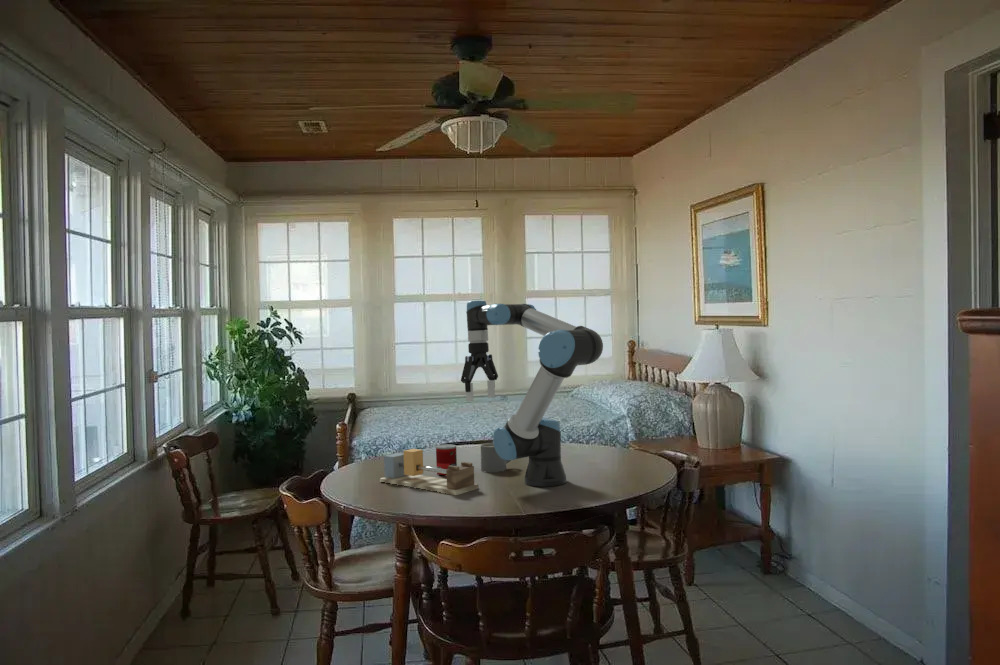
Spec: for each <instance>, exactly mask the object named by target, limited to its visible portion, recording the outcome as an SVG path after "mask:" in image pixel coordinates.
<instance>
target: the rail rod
mask: <svg viewBox="0 0 1000 665" xmlns="http://www.w3.org/2000/svg"><path fill="white" fill-rule="evenodd" d="M399 467H403V468H404V463H399ZM416 469H417V470H423V472H424V471H425V472H432V473H436V474H437V473H444V474H447V472H446V470H448V469H441V468H437V467H435V466H434V467H433V466H432V467H431V466H425V465H423V466H420V465H416Z"/></svg>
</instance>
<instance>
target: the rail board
mask: <svg viewBox="0 0 1000 665" xmlns="http://www.w3.org/2000/svg"><path fill="white" fill-rule="evenodd" d="M446 472H447V476H446V478H440V477H434V476H428V475H423V474H420V475H416V476H410V475H406V476H402V477H398V478H394V479H393V478H387V477H385V476H384V477H380V478H379V483H381V482H385V483H384V484H386V483H391V484H390V485H392V484H397V485H396V486H398V485H404V486H410V487H416V488H421V489H426V490H425V491H427V490H432V491H431V492H433V491H437V492H436V493H439V492H441V494H445V493H446V495H451V496H458V495H462V494H465V493H468V492H471V491H475V490H477V489H478V490H479V484H478V483H475V466H474V465H473V462H468V461H467V462H466V461H462V462H461V464H460V466H458V465H457V466H452V465H450V466H448V470H446ZM404 486H403V487H404ZM410 487H409V488H410ZM416 488H415V489H416ZM421 489H420V490H421Z"/></svg>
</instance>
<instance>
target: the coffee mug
mask: <svg viewBox="0 0 1000 665" xmlns="http://www.w3.org/2000/svg"><path fill="white" fill-rule="evenodd" d="M511 461H512V460H504V459H502V458H501V457H500V456H499V455H498V454H497V452H496V450H495V448H494V443H493V442H485V443H481V444H480V469H481V470H482V472H483V471H486V472H485V473H499V472H498V471H502V472H505V471H507V464H508V463H511ZM504 470H505V471H504Z"/></svg>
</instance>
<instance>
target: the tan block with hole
mask: <svg viewBox="0 0 1000 665" xmlns="http://www.w3.org/2000/svg"><path fill="white" fill-rule="evenodd" d="M402 451H403V452H402V453H403V454H404V475H410V476H416V475H423V474H424V471H423V470H417V469H416V465H420V466H424V450H423V449H419V448H418V449H417V448H410V449H406V450H402Z"/></svg>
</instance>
